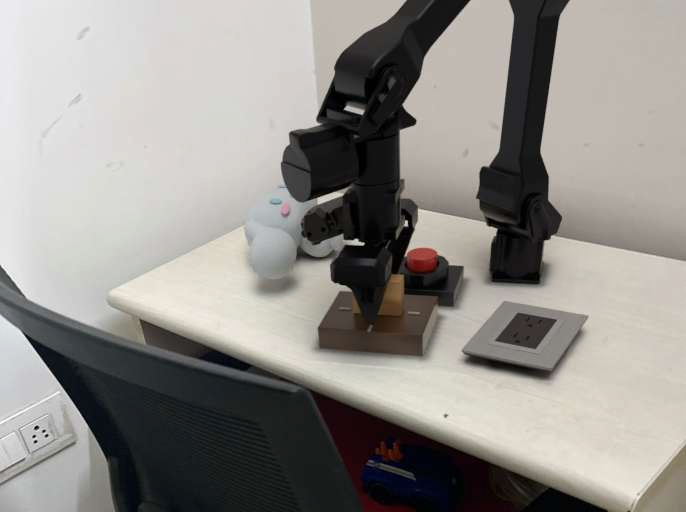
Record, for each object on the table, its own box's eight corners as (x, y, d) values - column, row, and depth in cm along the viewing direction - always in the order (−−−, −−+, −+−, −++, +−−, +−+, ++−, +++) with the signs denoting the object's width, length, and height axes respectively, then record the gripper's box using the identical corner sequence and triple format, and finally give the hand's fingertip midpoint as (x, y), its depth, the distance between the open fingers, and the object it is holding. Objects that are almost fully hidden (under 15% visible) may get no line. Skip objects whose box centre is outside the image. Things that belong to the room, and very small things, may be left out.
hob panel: (438, 317, 100) (438, 294, 97) (422, 357, 92) (422, 334, 90) (341, 311, 103) (339, 289, 101) (319, 349, 96) (317, 326, 94)
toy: (341, 259, 102) (237, 208, 100) (310, 323, 108) (212, 277, 106) (360, 191, 126) (276, 149, 123) (334, 247, 132) (254, 207, 130)
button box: (463, 280, 107) (464, 252, 104) (453, 307, 101) (454, 278, 99) (392, 277, 110) (391, 249, 107) (379, 303, 104) (378, 275, 101)
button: (439, 260, 104) (439, 248, 103) (434, 273, 101) (434, 260, 100) (410, 259, 105) (410, 246, 104) (404, 272, 102) (403, 259, 101)
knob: (404, 308, 96) (403, 272, 93) (400, 316, 94) (400, 280, 91) (357, 305, 97) (355, 270, 94) (353, 313, 96) (351, 277, 93)
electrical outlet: (549, 384, 86) (551, 366, 84) (461, 365, 90) (461, 347, 89) (585, 331, 94) (588, 313, 92) (502, 315, 98) (504, 298, 97)
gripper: (328, 149, 94) (337, 270, 104) (278, 206, 81) (293, 339, 91) (418, 149, 91) (418, 274, 101) (382, 209, 78) (385, 346, 88)
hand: (378, 306), depth 95 cm, fingers open, 9 cm apart
